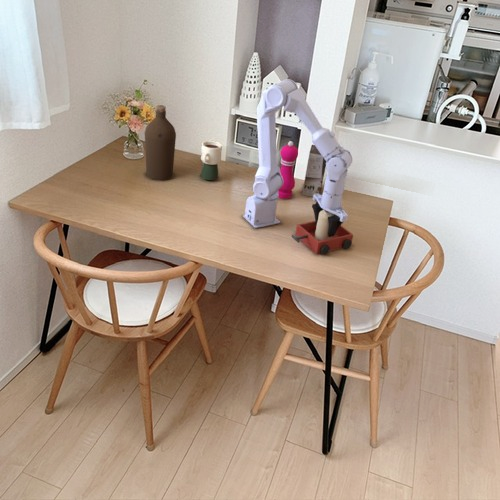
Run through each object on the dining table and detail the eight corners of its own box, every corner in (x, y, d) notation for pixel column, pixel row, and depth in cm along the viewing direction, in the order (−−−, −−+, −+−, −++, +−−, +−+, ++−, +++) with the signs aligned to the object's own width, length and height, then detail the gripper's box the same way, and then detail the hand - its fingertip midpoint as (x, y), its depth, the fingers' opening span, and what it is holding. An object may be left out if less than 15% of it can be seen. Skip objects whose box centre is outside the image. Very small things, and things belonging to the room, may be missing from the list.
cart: (316, 254, 157) (318, 242, 155) (295, 235, 165) (297, 224, 163) (350, 245, 163) (353, 234, 161) (328, 228, 171) (331, 217, 169)
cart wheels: (305, 259, 154) (307, 249, 152) (281, 236, 164) (282, 226, 162) (350, 248, 162) (353, 238, 160) (324, 226, 172) (326, 217, 170)
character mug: (207, 170, 198) (209, 137, 191) (224, 175, 196) (227, 142, 189) (193, 181, 190) (195, 146, 183) (211, 186, 188) (214, 151, 181)
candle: (335, 239, 164) (342, 211, 159) (325, 245, 161) (331, 216, 155) (321, 232, 167) (327, 204, 162) (310, 237, 164) (316, 209, 158)
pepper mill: (269, 196, 186) (277, 142, 175) (276, 188, 192) (284, 135, 181) (289, 201, 184) (298, 147, 173) (295, 193, 190) (304, 140, 179)
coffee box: (319, 198, 189) (327, 156, 180) (301, 195, 189) (309, 152, 181) (321, 187, 196) (329, 146, 188) (304, 184, 197) (311, 143, 188)
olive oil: (180, 178, 191) (182, 109, 177) (153, 183, 185) (154, 113, 171) (165, 166, 197) (166, 100, 184) (139, 171, 191) (139, 103, 178)
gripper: (359, 200, 152) (349, 240, 159) (329, 178, 162) (321, 217, 169) (340, 203, 149) (331, 244, 156) (310, 182, 159) (303, 221, 166)
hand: (324, 231), depth 162 cm, fingers closed on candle, 6 cm apart
